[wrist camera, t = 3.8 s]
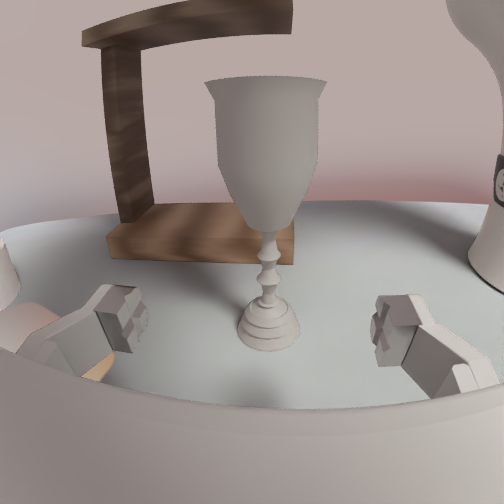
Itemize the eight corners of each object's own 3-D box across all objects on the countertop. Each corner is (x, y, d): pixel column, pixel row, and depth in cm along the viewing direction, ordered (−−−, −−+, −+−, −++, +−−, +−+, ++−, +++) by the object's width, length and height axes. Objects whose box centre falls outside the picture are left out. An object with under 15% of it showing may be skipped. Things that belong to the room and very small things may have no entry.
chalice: (259, 292, 28) (254, 85, 19) (326, 317, 24) (344, 85, 16) (206, 337, 23) (177, 85, 14) (281, 375, 19) (288, 73, 11)
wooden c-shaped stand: (292, 223, 42) (290, 20, 28) (293, 264, 32) (292, -8, 19) (145, 222, 44) (127, 41, 31) (111, 258, 34) (81, 31, 21)
